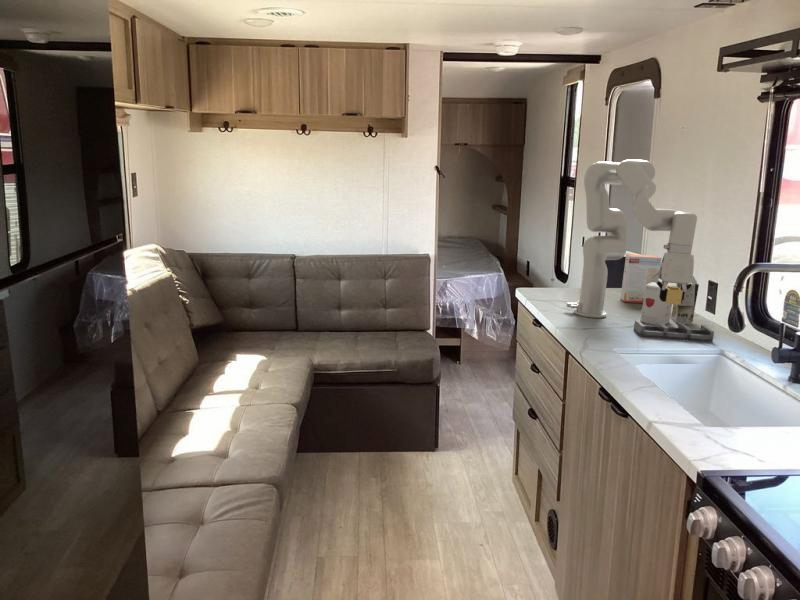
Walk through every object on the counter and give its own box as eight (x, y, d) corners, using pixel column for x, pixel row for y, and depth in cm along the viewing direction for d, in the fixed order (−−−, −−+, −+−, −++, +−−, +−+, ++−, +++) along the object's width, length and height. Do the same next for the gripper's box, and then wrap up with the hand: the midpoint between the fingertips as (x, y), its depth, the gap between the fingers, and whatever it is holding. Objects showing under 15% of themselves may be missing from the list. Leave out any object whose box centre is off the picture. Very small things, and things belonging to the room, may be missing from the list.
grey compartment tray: (640, 336, 230) (641, 326, 229) (633, 330, 239) (635, 319, 238) (712, 342, 228) (714, 331, 227) (702, 335, 237) (704, 324, 236)
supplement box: (639, 321, 252) (644, 284, 248) (646, 317, 259) (651, 281, 255) (663, 326, 246) (669, 288, 243) (669, 322, 253) (675, 285, 250)
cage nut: (665, 303, 219) (668, 287, 218) (660, 300, 224) (663, 284, 223) (680, 304, 219) (683, 288, 218) (675, 301, 224) (678, 285, 222)
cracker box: (650, 301, 290) (657, 255, 285) (655, 304, 284) (662, 257, 279) (619, 299, 290) (625, 253, 285) (623, 302, 284) (630, 255, 280)
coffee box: (692, 325, 252) (699, 284, 248) (675, 323, 253) (681, 283, 249) (687, 319, 260) (694, 280, 256) (670, 317, 261) (676, 278, 258)
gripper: (657, 249, 214) (648, 302, 218) (709, 252, 213) (700, 306, 217) (650, 245, 221) (642, 296, 226) (701, 249, 220) (692, 300, 224)
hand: (670, 300), depth 221 cm, fingers closed on cage nut, 5 cm apart
